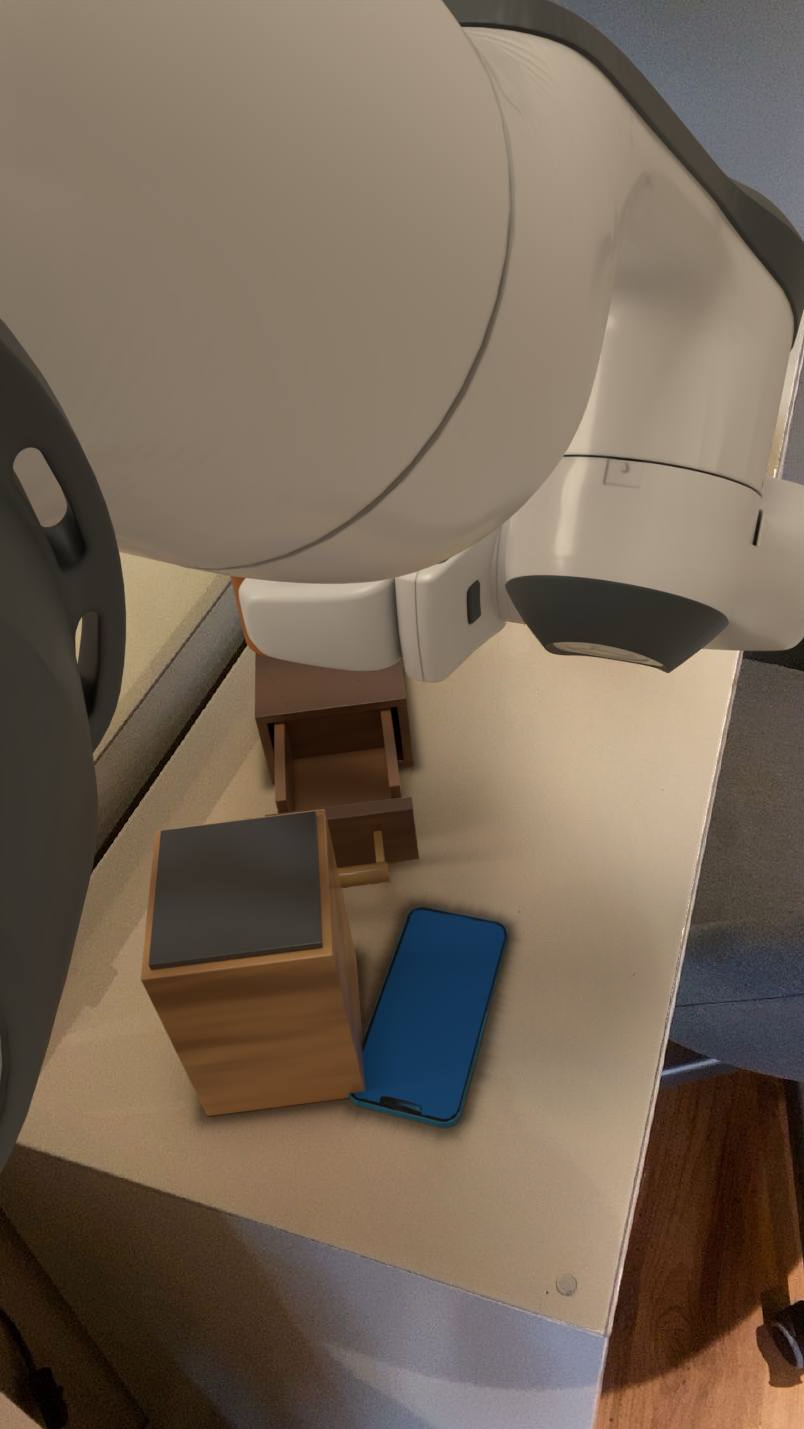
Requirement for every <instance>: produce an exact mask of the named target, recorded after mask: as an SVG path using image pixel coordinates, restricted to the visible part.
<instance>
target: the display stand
mask: <svg viewBox="0 0 804 1429" xmlns="http://www.w3.org/2000/svg"><path fill="white" fill-rule="evenodd" d="M152 847H153V849H152V857H151V858H152V859H151V869H150V879H149V890H148V899H147V910H146V911H147V912H146V922H145V931H144V940H143V941H144V942H143V950H142V963H141V974H140V982H141V983H142V985H143V987H144V990H145V991H146V994H147V995H148V997H149V999H150V1002H151V1004H152V1006H153V1007H154V1010H155V1012H156V1014H157V1016H158V1018H159V1020H160V1022H161V1024H162V1026H163V1028H164V1030H165V1033H166V1034H167V1037H168V1038H169V1040H170V1043H171V1045H172V1047H173V1049H174V1051H175V1053H176V1055H177V1057H178V1059H179V1061H180V1063H181V1065H182V1067H183V1069H184V1071H185V1073H186V1075H187V1077H188V1079H189V1082H190V1084H191V1085H192V1088H193V1090H194V1092H195V1094H196V1096H197V1098H198V1100H199V1102H200V1104H201V1106H202V1109H203V1110H204V1112H205V1115H206V1116H207V1117H210V1116H211V1117H212V1116H219V1115H226V1114H235V1113H242V1112H250V1111H258V1110H265V1109H272V1108H280V1107H288V1106H296V1105H302V1104H303V1105H304V1104H310V1103H319V1102H326V1101H327V1102H328V1101H334V1100H343V1099H350V1098H349V1093H358V1092H364V1091H365V1078H364V1064H363V1050H362V1041H363V1030H362V1028H363V1027H362V1017H361V1016H362V1015H361V1003H360V991H359V990H360V988H359V977H358V976H359V974H358V961H357V954H356V950H355V945H354V940H353V936H352V931H351V927H350V926H351V925H350V922H349V917H348V911H347V908H346V907H347V906H346V903H345V898H344V893H343V888H341V883H340V879H339V874H338V869H337V864H336V860H335V855H334V850H333V845H332V841H331V836H330V831H329V826H328V822H327V817H326V812H325V810H324V809H321V810H313V811H305V812H297V813H289V814H282V815H274V816H266V817H265V816H258V817H250V818H243V819H236V820H227V821H221V822H220V821H219V822H211V823H204V824H197V825H189V826H180V827H174V828H166V829H158V830H155V831H154V838H153V846H152Z"/></svg>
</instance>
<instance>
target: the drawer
mask: <svg viewBox="0 0 804 1429" xmlns="http://www.w3.org/2000/svg"><path fill="white" fill-rule="evenodd" d="M274 745H275V783H274V803H275V807H276V810H277V813H270V814H265V815H264V817H266V816H274V815H282V814H289V813H297V812H305V811H313V810H321V809H324V810H325V812H326V817H327V822H328V826H329V831H330V836H331V841H332V845H333V850H334V855H335V860H336V864H337V869H338V874H339V879H340V883H341V888H342V889H347V888H348V889H349V888H355V887H363V886H371V885H378V884H386V883H391V876H390V875H391V873H390V867H389V864H394V863H395V864H396V863H402V862H403V863H404V862H409V861H410V862H411V861H418V860H420V852H419V844H418V836H417V830H416V820H415V812H414V804H413V797H412V796H404V797H403V796H402V795H403V794H402V786H401V779H400V770H399V768H398V761H397V753H396V745H395V738H394V730H393V722H392V714H391V708H383V709H375V710H367V711H359V712H351V713H344V714H336V715H328V716H320V717H312V718H304V719H296V720H289V721H281V722H274Z"/></svg>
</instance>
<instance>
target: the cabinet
mask: <svg viewBox="0 0 804 1429" xmlns="http://www.w3.org/2000/svg"><path fill="white" fill-rule="evenodd" d="M254 654H255V656H254V657H255V658H254V662H255V663H254V720H255V724H256V727H257V731H258V735H259V739H260V740H259V741H260V743H261V746H262V751H263V755H264V758H265V762H266V767H267V770H268V774H269V777H270V783H271V784H275V745H274V722H281V721H289V720H296V719H304V718H312V717H320V716H328V715H336V714H344V713H351V712H359V711H367V710H375V709H383V708H391V714H392V722H393V730H394V738H395V745H396V753H397V761H398V769H399V768H407V767H413V766H415V760H414V751H413V743H412V742H413V740H412V732H411V726H410V725H411V724H410V716H409V708H408V707H409V706H408V698H407V691H406V690H407V689H406V684H405V678H404V676H405V675H404V671H403V663H402V662H403V661H402V659H401V660H400V661H398V662H397V663H396V664H394V665H392V666H390V667H387V668H385V669H381V670H376V671H350V670H341V669H333V668H326V667H319V666H313V665H307V664H301V663H296V662H291V661H286V660H281V659H277V658H273V657H266V656H262V655H259V654H257V653H255V652H254Z"/></svg>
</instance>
